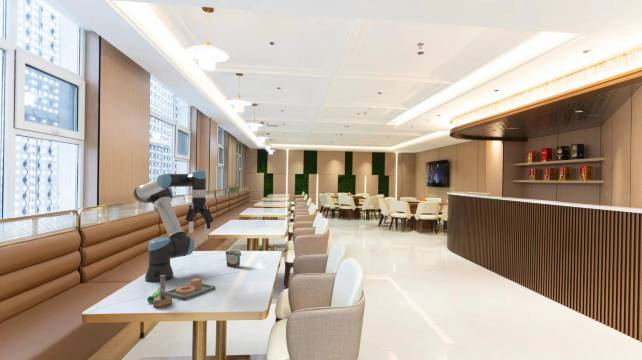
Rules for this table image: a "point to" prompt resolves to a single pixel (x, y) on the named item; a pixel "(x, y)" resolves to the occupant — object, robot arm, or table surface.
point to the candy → (154, 296)
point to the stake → (162, 296)
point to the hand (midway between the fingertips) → (199, 233)
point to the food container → (233, 258)
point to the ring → (190, 287)
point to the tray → (204, 289)
